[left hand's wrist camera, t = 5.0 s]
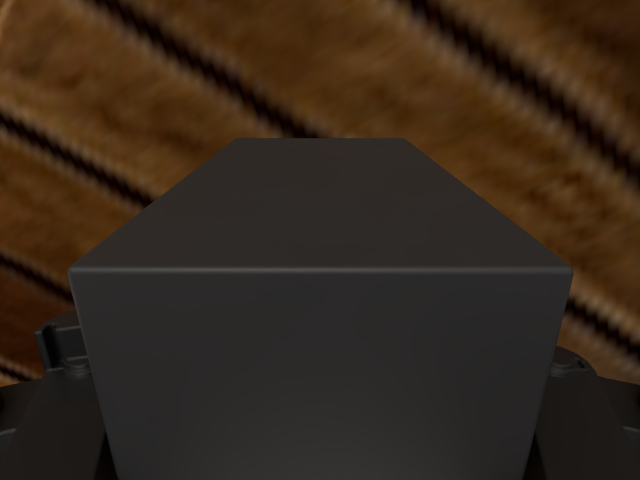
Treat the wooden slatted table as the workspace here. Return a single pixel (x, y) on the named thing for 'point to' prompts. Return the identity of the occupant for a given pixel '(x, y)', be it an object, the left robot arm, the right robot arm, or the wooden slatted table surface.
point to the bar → (320, 321)
